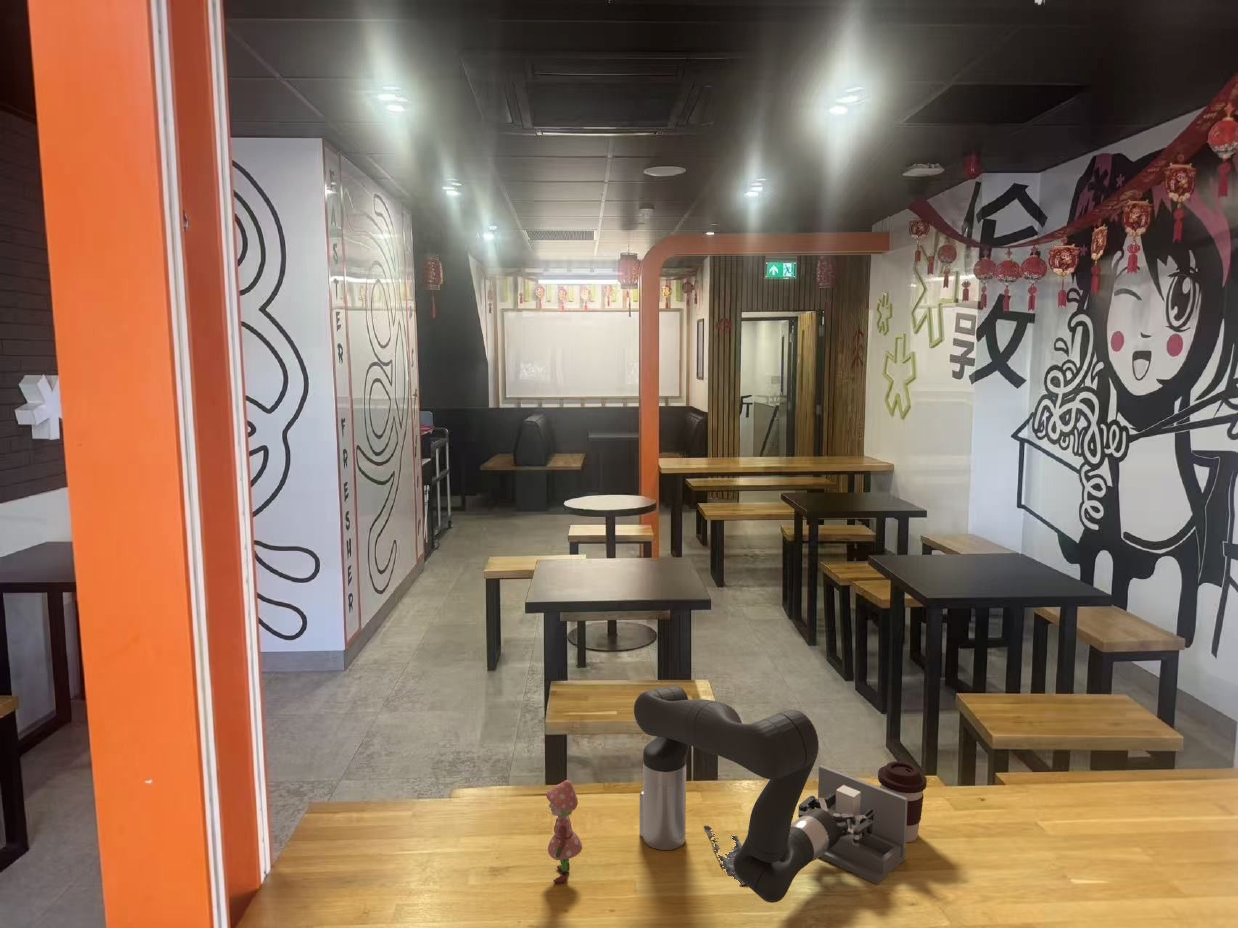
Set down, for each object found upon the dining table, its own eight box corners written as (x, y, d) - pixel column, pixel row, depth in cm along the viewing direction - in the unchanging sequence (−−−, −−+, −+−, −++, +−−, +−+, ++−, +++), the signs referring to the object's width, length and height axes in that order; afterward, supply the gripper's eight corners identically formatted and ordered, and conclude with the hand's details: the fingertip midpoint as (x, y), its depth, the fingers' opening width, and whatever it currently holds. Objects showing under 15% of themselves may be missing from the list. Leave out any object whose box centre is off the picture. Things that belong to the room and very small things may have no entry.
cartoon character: (579, 893, 150) (578, 794, 148) (542, 891, 151) (542, 792, 149) (585, 861, 160) (584, 768, 158) (550, 860, 161) (550, 767, 159)
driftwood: (761, 888, 153) (761, 877, 153) (727, 890, 152) (727, 880, 152) (733, 830, 173) (733, 821, 173) (703, 832, 172) (703, 823, 172)
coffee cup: (874, 841, 168) (876, 774, 166) (877, 817, 177) (879, 754, 175) (923, 851, 164) (926, 783, 163) (924, 826, 173) (927, 762, 172)
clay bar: (834, 844, 164) (836, 789, 163) (841, 838, 166) (843, 784, 165) (851, 852, 161) (853, 797, 160) (859, 846, 164) (860, 791, 162)
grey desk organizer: (789, 842, 167) (791, 783, 166) (819, 821, 175) (821, 764, 174) (877, 884, 153) (879, 820, 152) (905, 858, 161) (907, 798, 160)
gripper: (844, 832, 148) (884, 800, 159) (780, 803, 158) (822, 776, 169) (843, 869, 149) (883, 835, 160) (779, 839, 159) (822, 809, 170)
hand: (852, 805), depth 165 cm, fingers open, 8 cm apart
